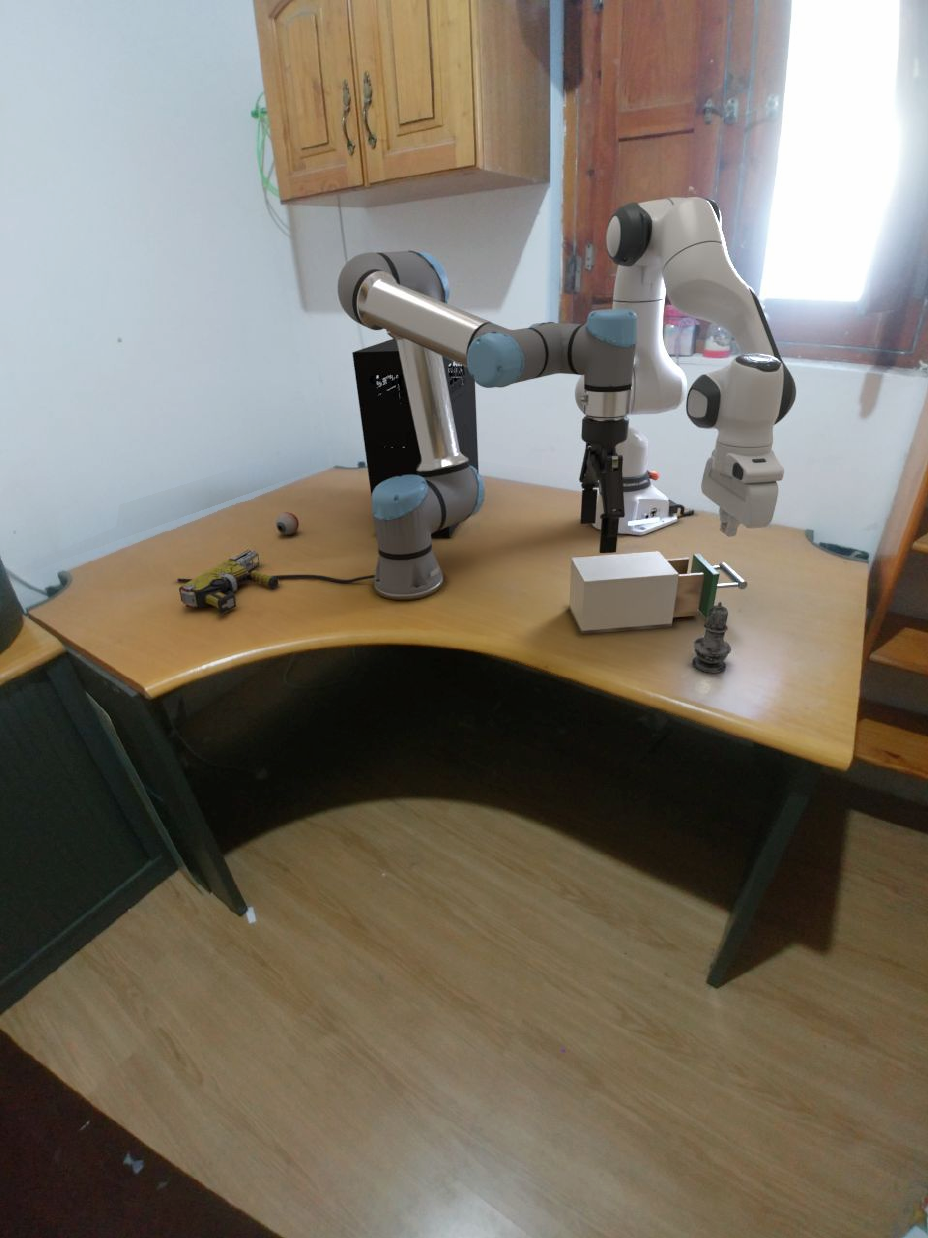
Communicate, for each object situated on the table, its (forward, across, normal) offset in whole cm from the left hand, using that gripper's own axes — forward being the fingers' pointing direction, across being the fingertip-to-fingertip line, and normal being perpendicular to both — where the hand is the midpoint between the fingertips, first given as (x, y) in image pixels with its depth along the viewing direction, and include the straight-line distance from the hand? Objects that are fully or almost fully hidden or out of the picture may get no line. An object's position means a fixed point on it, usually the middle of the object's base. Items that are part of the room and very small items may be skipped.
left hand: (597, 537), depth 109 cm
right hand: (+1, 0, +24) cm, 24 cm away
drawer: (+16, 0, +17) cm, 23 cm away
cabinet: (+17, 0, +5) cm, 18 cm away
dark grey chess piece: (+17, +18, +16) cm, 29 cm away
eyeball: (+18, -58, -69) cm, 92 cm away
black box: (+18, -67, -30) cm, 76 cm away
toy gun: (+18, -25, -74) cm, 80 cm away
